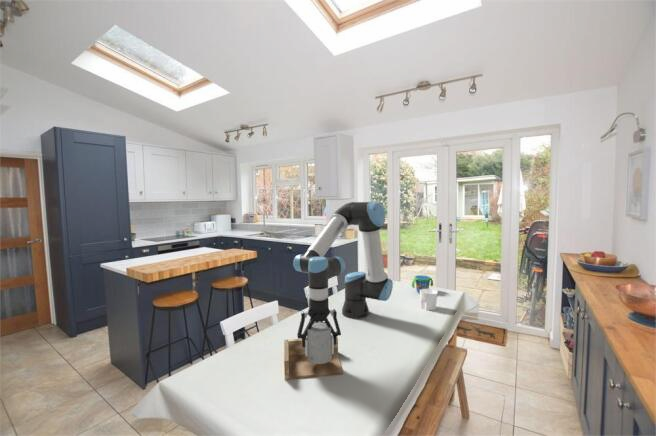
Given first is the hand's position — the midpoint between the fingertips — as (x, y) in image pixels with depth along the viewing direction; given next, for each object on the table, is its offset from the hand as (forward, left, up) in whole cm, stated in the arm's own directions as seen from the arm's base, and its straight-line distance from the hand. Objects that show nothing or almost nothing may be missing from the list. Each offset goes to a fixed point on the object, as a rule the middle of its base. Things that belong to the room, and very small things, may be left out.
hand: (319, 353), depth 120 cm
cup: (-70, -52, -5) cm, 87 cm away
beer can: (0, 0, -2) cm, 2 cm away
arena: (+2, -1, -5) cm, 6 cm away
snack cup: (-80, -80, -5) cm, 113 cm away
